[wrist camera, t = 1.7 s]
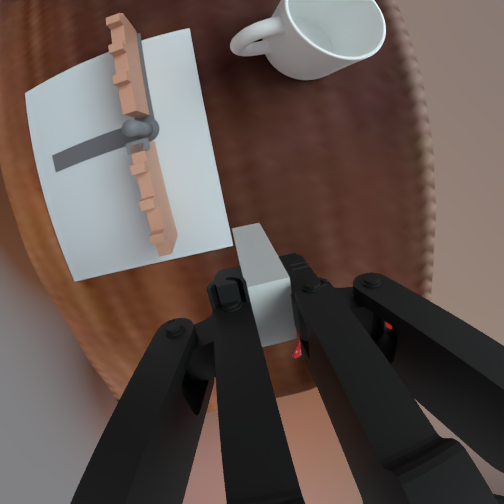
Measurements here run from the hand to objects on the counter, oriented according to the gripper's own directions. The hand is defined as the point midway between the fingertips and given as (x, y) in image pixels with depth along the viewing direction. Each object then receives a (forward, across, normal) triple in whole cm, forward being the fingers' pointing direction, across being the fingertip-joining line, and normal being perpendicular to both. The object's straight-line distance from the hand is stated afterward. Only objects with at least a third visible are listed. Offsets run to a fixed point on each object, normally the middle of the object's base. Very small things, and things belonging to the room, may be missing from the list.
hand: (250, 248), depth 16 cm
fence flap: (+14, -7, +3) cm, 16 cm away
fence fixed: (+14, -7, +14) cm, 21 cm away
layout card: (+15, -11, +7) cm, 20 cm away
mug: (+15, +8, +15) cm, 22 cm away
